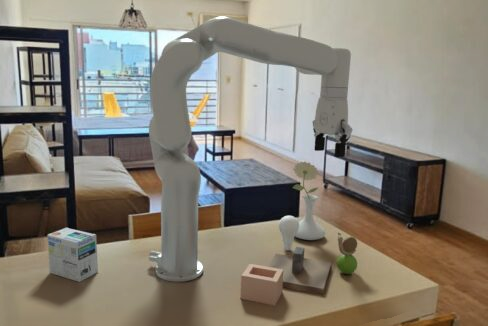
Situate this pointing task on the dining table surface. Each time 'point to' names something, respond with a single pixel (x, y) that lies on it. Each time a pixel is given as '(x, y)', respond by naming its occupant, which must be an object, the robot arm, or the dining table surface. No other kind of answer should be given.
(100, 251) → the dining table surface
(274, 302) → the tan rectangular frame
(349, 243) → the snail figurine
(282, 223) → the lightbulb
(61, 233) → the light bulb box
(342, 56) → the robot arm
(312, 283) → the hub plate
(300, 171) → the flower in vase
